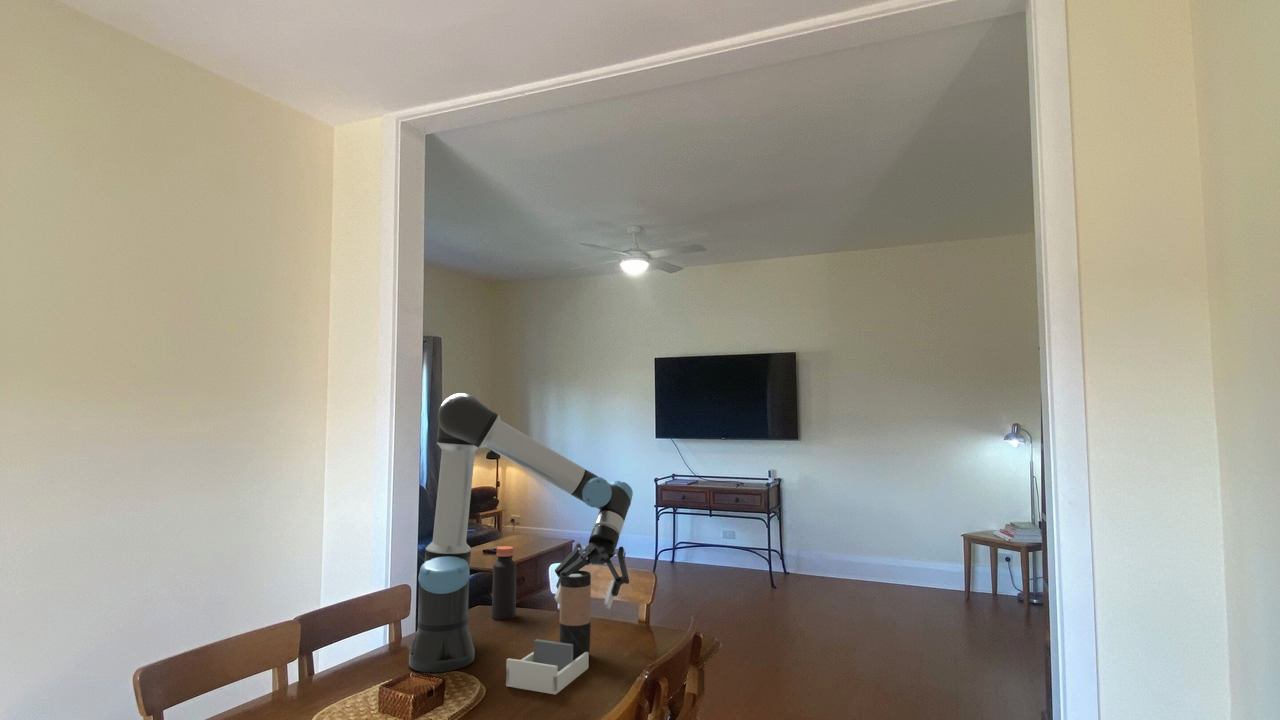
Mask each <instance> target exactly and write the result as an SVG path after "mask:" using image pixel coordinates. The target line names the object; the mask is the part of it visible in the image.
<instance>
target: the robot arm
mask: <svg viewBox="0 0 1280 720" xmlns="http://www.w3.org/2000/svg"><path fill="white" fill-rule="evenodd" d="M437 418H438V426H437V427H438V428H437V438H436V445H438V447H439V448H440V449H441V456H440V467H439V474H438V475H439V477H438V487H437V493H436V494H437V496H436V505H435V512H434V513H435V514H434V525H433V533H432V541H431V542H430V543H429V544H428V545H427V546H426V547H425V552H424V563H422V564H421V566H420V569H419V573H418V579H417V580H418V604H417V605H418V607H417V609H418V610H417V611H418V612H417V615H418V616H417V631H416V634H415V637H414V640H413V642H412V646H411V649H410V651H409V654H408V655H409V656H408V666H409V668H410V669H412V670H414V671H416V672H422V673H430V672H432V673H446V672H452V671H455V670H459V669H462V668H465V667H467V666H469V665H471V664H472V663H473V662H474V661H475V656H476V655H475V653H476V652H475V650H476V649H475V646H474V644H473V640H472V635H471V631H470V629H469V598H470V597H469V594H470V593H469V591H470V587H469V586H470V577H471V572H470V567H471V556H472V554H471V553H472V548H471V546H470V545H469V544H468V543H467V535H468V528H469V527H468V526H469V518H470V517H469V516H470V507H471V506H470V504H471V497H472V487H473V486H472V485H473V474H474V464H475V457H476V456H475V454H476V451H477V450H478V449H483V448H486V449H488V450H491V451H492V452H494V453H496V454H497V455H499V456H501V457H502V458H504V459H506V460H507V461H510V462H512V463H514V464H515V465H518V466H519V467H521V468H522V469H524V470H526V471H528V472H529V473H531V474H533V475H535V476H536V477H539V478H540V479H542V480H544V481H545V482H548V483H550V484H551V485H553V486H555V487H557V488H558V489H560V490H562V491H563V492H565V493H567V494H569V495H571V496H572V497H574V498H576V499H578V500H579V501H581V502H582V503H584V504H585V505H587V506H588V507H590V508H596V509H597V510H599V512H598V514H597V517H596V520H595V522H594V525H593V528H592V530H591V534H590V536H589V539H588V543H587V544H586V546H584V545H582V544H581V543H580V542H577V543H576V545H575V546H574V548H573V550H572V551H571V552H570V553H569V554H568V555H567V556H566V557H565V558H564V559H563V561H561V562H560V564H559V565H558V566H557V567H556V568H555V569H554V572H555V574H556V577H558V580H557V582H556V585H555V586H556V588H557V590H556V593H555V595H554V600H555V601H556V603H557V604H558V605H560V576H561V573H563V572H565V573H567V574H568V573H572V572H573V571H576V570H580V571H581V570H582V568H584V567H585V566H589V565H590V564H592V565H597V564H598V565H604V564H607V565H606V566H607V567H608V569H609V571H610V572H611V574H612V578H614V579H611V580H610V583H609V586H608V590H607V592H606V595H605V599H604V602H603V604H604V606H605V609H606V610H611V607H612V605H613V600H614V599H615V598H614V597H617V596H618V595H619V592H620V588H621V586H622V585H624V584H625V585H628V584H630V578H629V577H630V576H629V574H628V569H627V565H626V551H625V548H624V547H623V545H622V546H618V544H619V539H620V536H621V533H622V530H623V526H624V523H625V521H626V518H627V514H628V512H629V509H630V507H631V503H632V500H633V494H634V493H633V489H632V487H631V485H630V484H628V483H627V482H624V481H621V480H613V481H611V482H610V483H609V482H608V481H607V480H606V479H604V478H603V477H601V476H600V477H599V476H598V475H596V474H594V473H593V472H592V471H589V470H587V469H586V468H584V467H582V466H581V465H579V464H577V463H576V462H574V461H572V460H570V459H568V458H567V457H565V456H564V455H561V454H560V453H558V452H556V451H555V450H553V449H552V448H549V447H547V446H546V445H544V444H542V443H541V442H539V441H537V440H536V439H533V438H532V437H531V436H529V435H527V434H525V433H523V432H522V431H521V430H520V431H519V429H516V428H515V427H513V426H511V425H510V424H508V423H506V422H504V421H503V420H502V419H501V416H500V414H499V413H496V412H494V411H493V410H492V409H490V408H488V406H486V405H485V404H484V403H482V402H481V401H480V400H479V399H478V398H477V397H475V396H474V395H472V394H468V393H463V392H462V393H461V392H459V393H454V394H452V395H450V396H449V397H447V398H445V399H444V401H443V402H442V403H441V405H440V406H439V409H438V413H437ZM617 546H618V548H617ZM615 555H616V557H617V558H618V562H619V568H620V569H619V570H620V572H621V576H619V574H618V571H617V570H616V567H614V565H613V562H612V561H611V559H612V558H613V557H614V556H615ZM445 671H446V672H445ZM432 673H431V674H432Z"/></svg>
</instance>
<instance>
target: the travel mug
mask: <svg viewBox="0 0 1280 720" xmlns="http://www.w3.org/2000/svg"><path fill="white" fill-rule="evenodd" d="M591 575H592V574H591V572H590V571H587V570H581V569H580V570H576V571H573V572H572V573H568V574H567V573H565V572H563V573H561V576H560V604H559V642H561V643H568V644H573V661H574V660H575V659H576V658H578V657H579V656H580V655H582V654H583V653H585V652H589V654H590V649H591V648H590V647H591V624H592V623H591V620H592V613H591V612H592V606H591V605H592V602H591V601H592V600H591V599H592V594H591V593H592V592H591V591H592V590H591V589H592V586H591V585H592V581H591V580H592V579H591Z"/></svg>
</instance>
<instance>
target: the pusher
mask: <svg viewBox="0 0 1280 720" xmlns="http://www.w3.org/2000/svg"><path fill="white" fill-rule="evenodd" d="M533 652H534V659H533V662H536V663H543V664H549V665H556V666H558V672H559V671H560V670H562V669H563V668H564V667H566V666H567V665H568V664H570V663H571V662H572V661H573V644H568V643H561V642H560V641H552V640H545V639H539V638H536V639H534V640H533Z"/></svg>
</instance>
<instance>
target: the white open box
mask: <svg viewBox="0 0 1280 720" xmlns="http://www.w3.org/2000/svg"><path fill="white" fill-rule="evenodd" d="M589 658H590V653H589V652H585V653H583V654H582V655H580V656H579V657H578V658H576V659H575V660H574V661H572V662H571V663H570V664H568V665H567V666H566V667H564V668H563V669H562V670H560V671H559V672H558V666H556V665H549V664H543V663H536V662H533V659H534V651H532V652H531V653H529V654H528V655H526V656H524V657H523V658H521V659H517V658H510V657H509V658H507V659H506V664H505V665H506V666H505V667H506V668H505V669H506V670H505V671H506V673H505V675H506V676H505V686H506V687H510V688H515V689H521V690H526V691H527V690H528V691H533V692H539V693H545V694H551V695H555V696H556V695H557V694H558V693H560V692H561V691H562V690H563V689H565V688H566V687H567V686H568V685H570V683H572V682H573V681H575V680H576V679H577V678H578V677H579V676H580V675H582V674H583V673H585V672H586V671H587V670H588V669H589Z"/></svg>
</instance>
